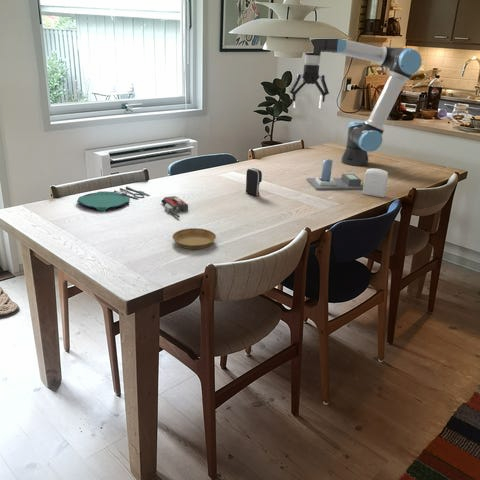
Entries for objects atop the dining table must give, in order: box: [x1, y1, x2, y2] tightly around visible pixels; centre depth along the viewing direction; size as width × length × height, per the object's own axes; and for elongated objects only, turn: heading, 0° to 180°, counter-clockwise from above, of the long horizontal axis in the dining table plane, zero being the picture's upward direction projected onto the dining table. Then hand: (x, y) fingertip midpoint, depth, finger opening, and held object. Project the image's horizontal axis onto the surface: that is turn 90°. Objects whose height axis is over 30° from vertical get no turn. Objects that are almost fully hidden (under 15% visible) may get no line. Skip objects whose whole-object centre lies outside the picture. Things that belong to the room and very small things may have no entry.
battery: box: [245, 167, 263, 197], centre depth 219 cm, size 7×4×11 cm, turn 42°
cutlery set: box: [76, 186, 150, 212], centre depth 205 cm, size 20×30×2 cm, turn 144°
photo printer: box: [362, 167, 389, 198], centre depth 226 cm, size 10×4×12 cm, turn 63°
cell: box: [320, 158, 334, 182], centre depth 237 cm, size 4×4×12 cm
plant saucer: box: [172, 227, 217, 250], centre depth 169 cm, size 15×15×3 cm
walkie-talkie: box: [161, 195, 189, 218], centre depth 197 cm, size 9×4×20 cm
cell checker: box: [306, 173, 364, 191], centre depth 240 cm, size 24×16×4 cm, turn 100°
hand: (307, 108), depth 254 cm, fingers open, 13 cm apart
